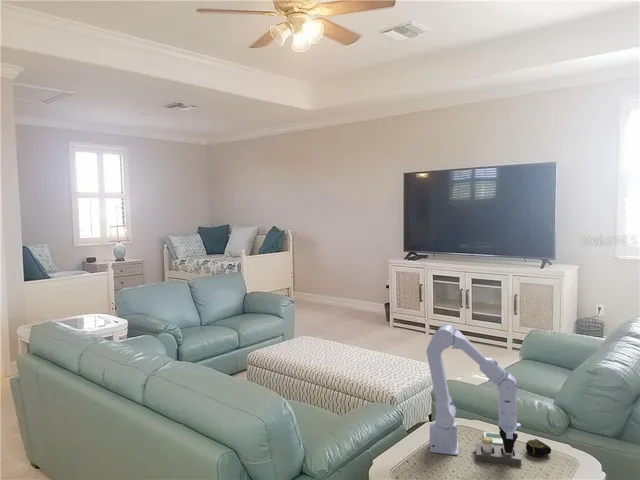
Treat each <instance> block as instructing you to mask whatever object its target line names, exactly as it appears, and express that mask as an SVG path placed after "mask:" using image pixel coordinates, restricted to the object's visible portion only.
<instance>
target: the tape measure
mask: <svg viewBox="0 0 640 480" xmlns="http://www.w3.org/2000/svg"><path fill="white" fill-rule="evenodd" d="M525 450H526V452H527V453H528V454H530V455H532V456H534V457H538V458H539V457H540V458H541V457H545V456H548V455H550V454H551V453H552V447H551V446H549V445H548V444H546V443H544V442H543V441H540V440H539V439H537V438H535V439H529V440H527V441H526V443H525Z"/></svg>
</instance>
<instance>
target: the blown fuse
mask: <svg viewBox="0 0 640 480" xmlns="http://www.w3.org/2000/svg"><path fill="white" fill-rule="evenodd" d="M503 455H510V456H513V451H512V453H505V450H504V444H503Z"/></svg>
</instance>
